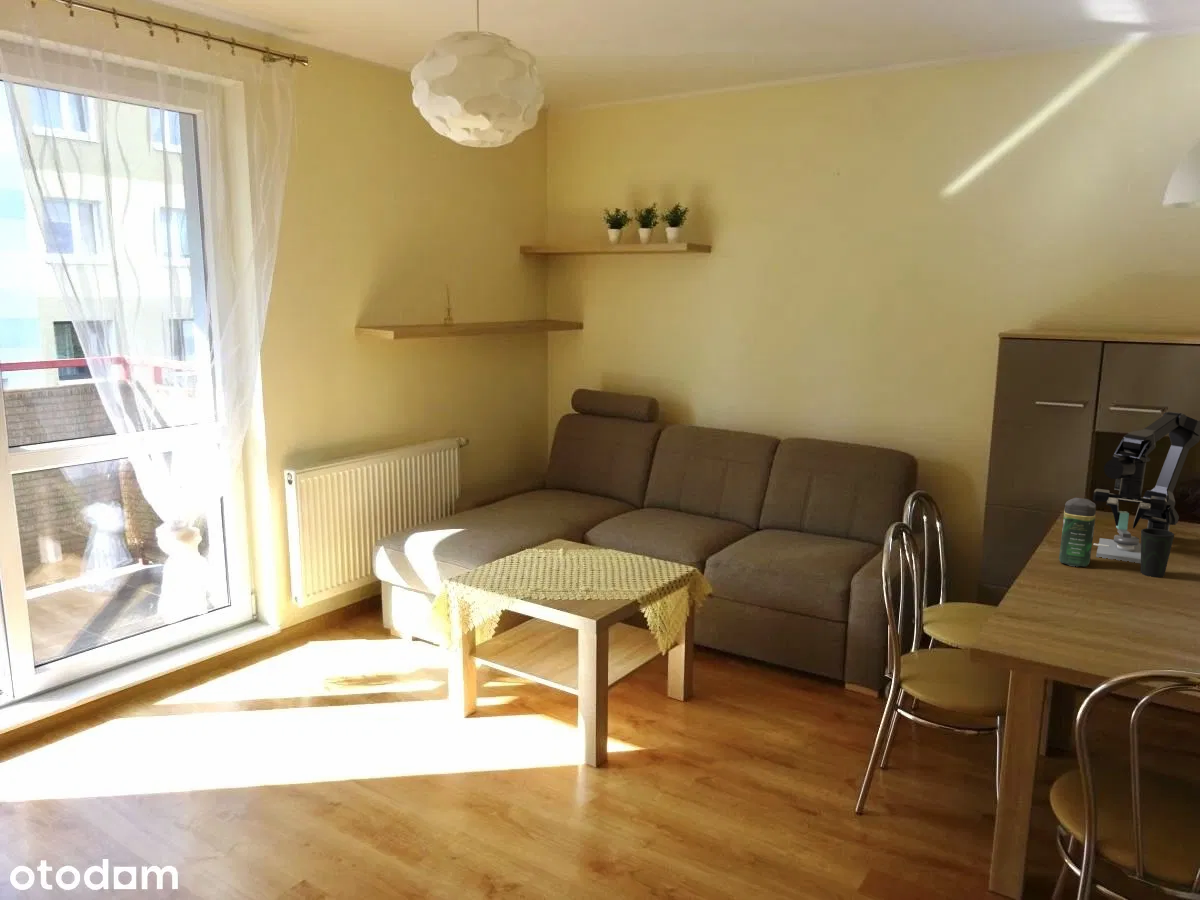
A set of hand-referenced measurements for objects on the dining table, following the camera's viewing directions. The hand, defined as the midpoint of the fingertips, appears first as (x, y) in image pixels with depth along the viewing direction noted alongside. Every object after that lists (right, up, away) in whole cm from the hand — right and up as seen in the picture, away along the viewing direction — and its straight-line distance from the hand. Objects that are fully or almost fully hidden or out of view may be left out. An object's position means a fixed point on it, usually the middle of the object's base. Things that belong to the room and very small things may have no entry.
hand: (1125, 526), depth 264 cm
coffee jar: (-22, -9, -12) cm, 27 cm away
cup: (-6, -11, -22) cm, 26 cm away
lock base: (-2, -7, -4) cm, 9 cm away
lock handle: (-2, -4, -2) cm, 5 cm away
